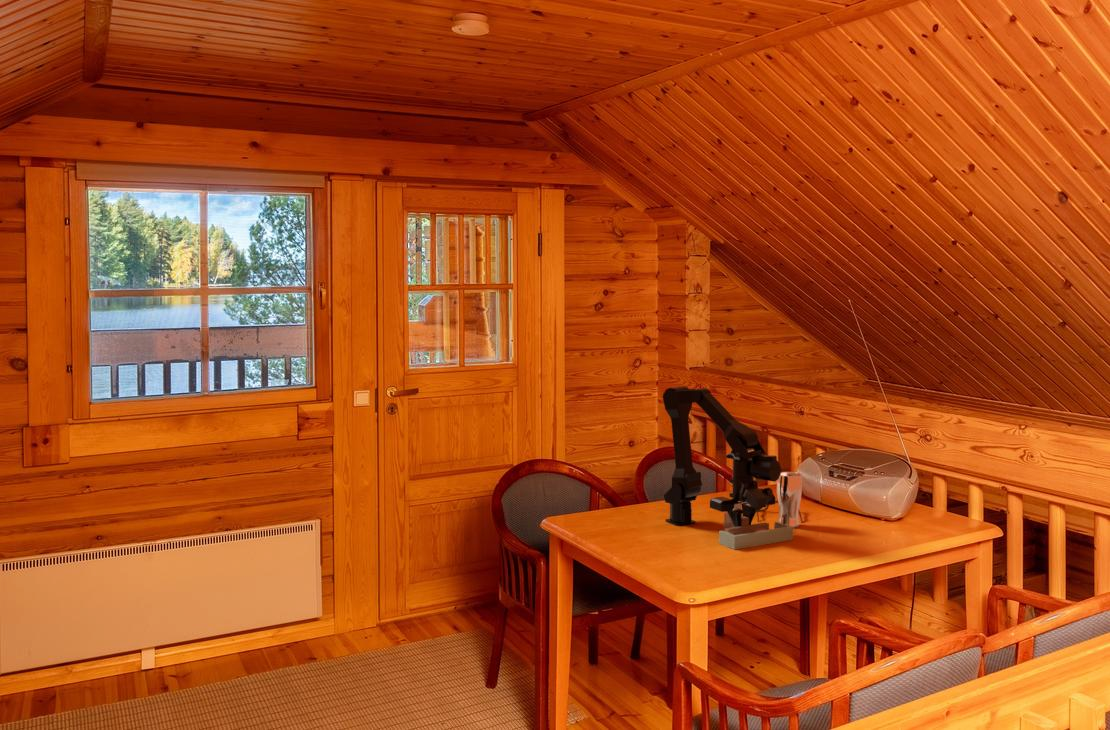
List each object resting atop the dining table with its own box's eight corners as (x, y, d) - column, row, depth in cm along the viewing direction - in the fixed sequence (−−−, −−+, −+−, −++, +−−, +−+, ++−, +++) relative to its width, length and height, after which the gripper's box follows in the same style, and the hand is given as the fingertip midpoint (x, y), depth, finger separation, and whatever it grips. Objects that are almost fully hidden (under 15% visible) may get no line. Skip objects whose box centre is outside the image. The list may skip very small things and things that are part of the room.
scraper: (707, 532, 276) (707, 515, 275) (747, 526, 282) (747, 509, 282) (728, 540, 268) (728, 522, 267) (768, 534, 274) (769, 516, 274)
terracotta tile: (753, 538, 272) (753, 530, 272) (764, 537, 274) (764, 528, 273) (762, 542, 268) (763, 533, 268) (774, 540, 270) (774, 531, 270)
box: (719, 543, 266) (719, 530, 266) (777, 534, 276) (777, 521, 275) (734, 549, 261) (734, 536, 260) (793, 539, 270) (793, 526, 270)
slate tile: (732, 542, 268) (732, 533, 268) (744, 540, 270) (744, 531, 270) (742, 545, 265) (742, 536, 265) (753, 543, 267) (754, 534, 267)
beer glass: (801, 529, 281) (802, 477, 279) (776, 528, 282) (777, 476, 281) (800, 523, 287) (801, 472, 286) (775, 521, 289) (776, 471, 287)
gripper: (734, 485, 260) (733, 543, 262) (789, 477, 269) (788, 534, 271) (708, 477, 270) (708, 533, 272) (762, 470, 279) (761, 524, 280)
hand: (742, 531), depth 273 cm, fingers closed on scraper, 2 cm apart
